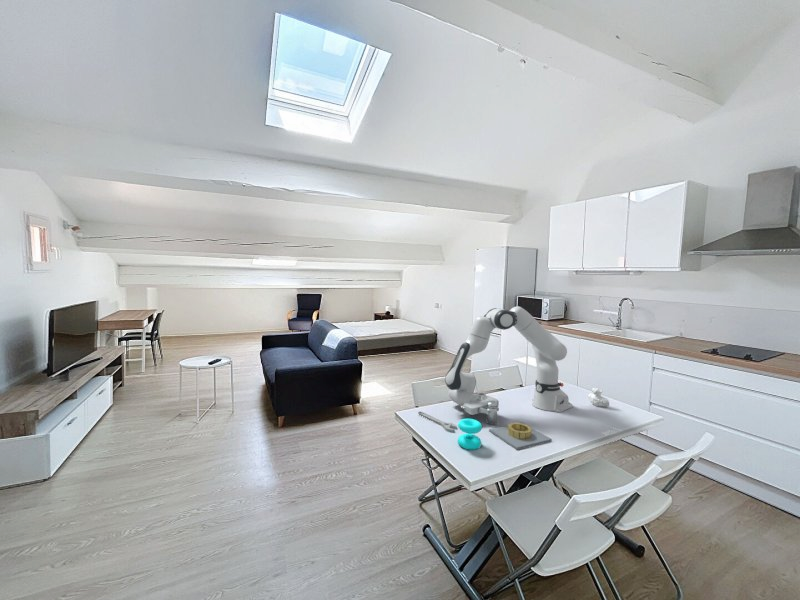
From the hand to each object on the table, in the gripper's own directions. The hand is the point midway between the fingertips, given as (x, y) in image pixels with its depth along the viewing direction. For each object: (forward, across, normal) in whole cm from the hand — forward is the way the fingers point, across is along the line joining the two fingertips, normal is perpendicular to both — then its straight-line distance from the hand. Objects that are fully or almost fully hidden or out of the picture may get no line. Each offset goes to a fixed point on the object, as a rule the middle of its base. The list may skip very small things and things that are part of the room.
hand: (493, 411), depth 164 cm
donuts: (+9, -25, +6) cm, 28 cm away
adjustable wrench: (-16, -22, +7) cm, 28 cm away
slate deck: (+15, 0, +6) cm, 17 cm away
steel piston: (-1, 0, +6) cm, 6 cm away
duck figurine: (+15, +70, +7) cm, 72 cm away
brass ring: (+15, 0, +6) cm, 17 cm away
